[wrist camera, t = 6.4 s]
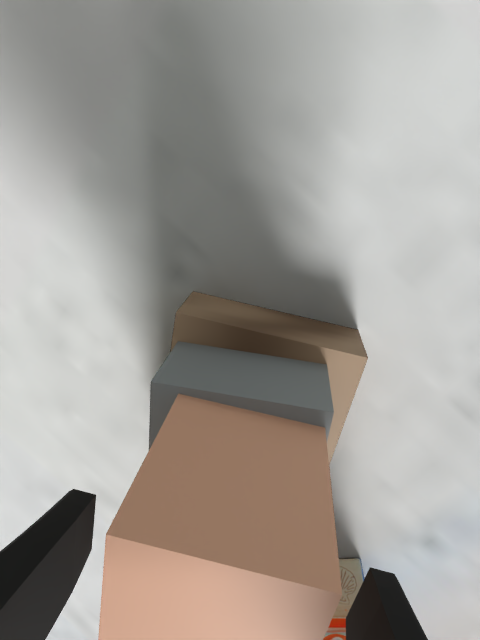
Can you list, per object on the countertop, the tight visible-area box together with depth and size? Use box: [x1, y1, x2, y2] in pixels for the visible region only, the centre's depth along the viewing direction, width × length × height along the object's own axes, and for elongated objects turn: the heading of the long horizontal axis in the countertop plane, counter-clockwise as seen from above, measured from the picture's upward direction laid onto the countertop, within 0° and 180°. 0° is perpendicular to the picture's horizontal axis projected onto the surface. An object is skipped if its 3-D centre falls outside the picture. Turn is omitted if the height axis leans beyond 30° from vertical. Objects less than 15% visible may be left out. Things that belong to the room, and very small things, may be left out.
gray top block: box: [149, 341, 334, 450], centre depth 14 cm, size 6×6×3 cm
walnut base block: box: [170, 291, 368, 464], centre depth 17 cm, size 7×7×3 cm
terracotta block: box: [98, 394, 342, 640], centre depth 11 cm, size 4×4×5 cm
